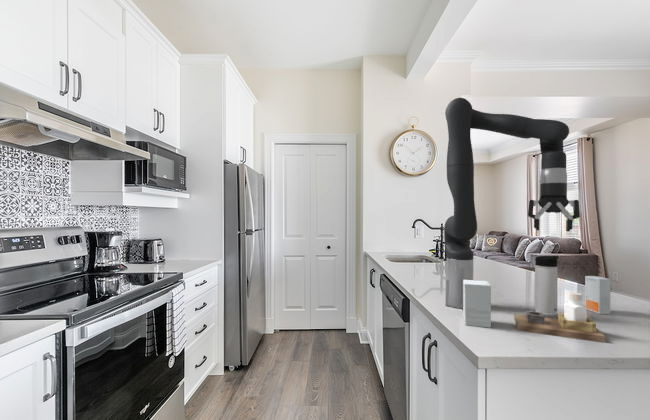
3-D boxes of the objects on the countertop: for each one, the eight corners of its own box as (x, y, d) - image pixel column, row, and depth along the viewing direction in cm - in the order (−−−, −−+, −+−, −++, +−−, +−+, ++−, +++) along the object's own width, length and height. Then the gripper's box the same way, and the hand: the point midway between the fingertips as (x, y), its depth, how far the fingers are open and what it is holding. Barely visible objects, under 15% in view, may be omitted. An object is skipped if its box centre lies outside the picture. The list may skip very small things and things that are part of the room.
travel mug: (562, 319, 108) (562, 257, 108) (539, 317, 109) (539, 256, 109) (553, 313, 114) (553, 254, 114) (531, 312, 115) (532, 254, 116)
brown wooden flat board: (517, 330, 97) (517, 316, 97) (514, 318, 108) (514, 306, 108) (604, 342, 88) (604, 327, 88) (591, 328, 99) (591, 315, 99)
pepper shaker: (587, 328, 94) (587, 295, 94) (574, 329, 94) (574, 295, 94) (576, 324, 98) (576, 291, 98) (563, 324, 98) (563, 291, 98)
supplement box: (487, 320, 106) (488, 280, 106) (491, 328, 99) (491, 285, 99) (462, 318, 108) (462, 278, 108) (464, 325, 101) (464, 283, 101)
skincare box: (584, 309, 120) (584, 275, 120) (595, 309, 120) (595, 275, 120) (599, 314, 114) (599, 279, 114) (611, 314, 114) (611, 279, 114)
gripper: (529, 182, 113) (528, 230, 112) (582, 181, 106) (581, 232, 106) (527, 184, 119) (527, 229, 119) (576, 183, 113) (576, 231, 113)
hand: (552, 230), depth 112 cm, fingers open, 8 cm apart
